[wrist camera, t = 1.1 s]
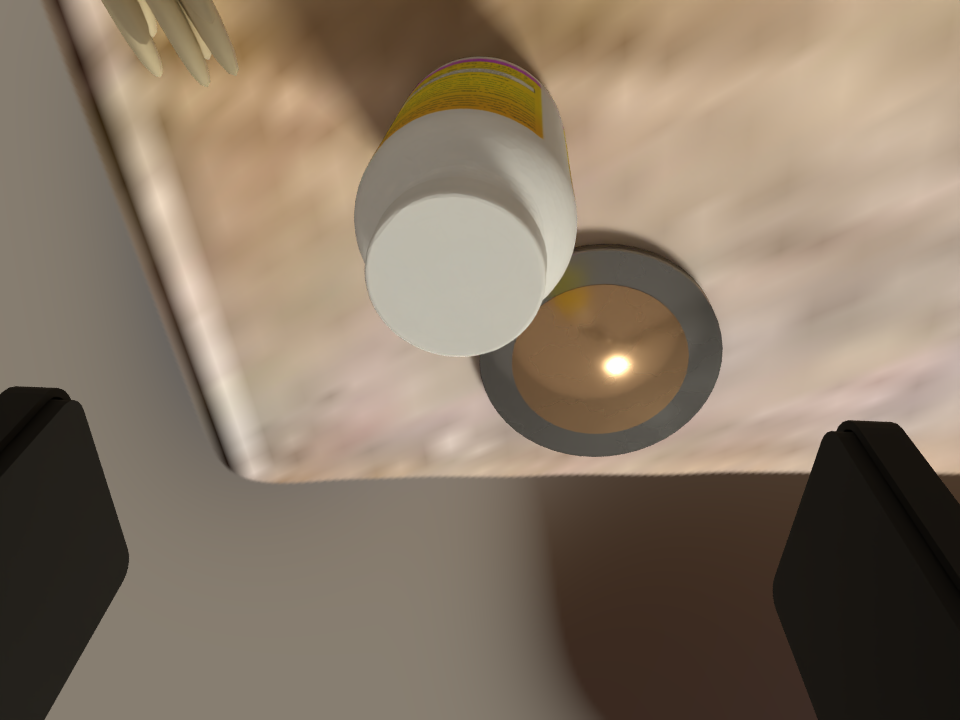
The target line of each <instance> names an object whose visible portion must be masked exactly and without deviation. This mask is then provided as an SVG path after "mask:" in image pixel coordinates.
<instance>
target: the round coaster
mask: <svg viewBox="0 0 960 720" xmlns="http://www.w3.org/2000/svg"><path fill="white" fill-rule="evenodd" d="M721 362H722V337H721V331H720V328H719V324H718V320H717V318H716V316H715V313H714V311H713V309H712V307H711V304H710V302H709V300H708V298H707V297H706V295H705V294H704V292H703V291H702V289H701V288H700V286H699V285H698V284H697V283H696V282H695V281H694V280H693V278H692V277H691V276H690V275H688V274H687V273H686V272H685V271H684V270H682V269H681V268H680V267H679V266H677V265H675V264H674V263H672V262H671V261H669V260H667V259H666V258H663V257H661V256H659V255H657V254H655V253H652V252H649V251H646V250H643V249H639V248H636V247H630V246H624V245H613V244H598V245H586V246H581V247H576V248H574V250H573V253H572V256H571V259H570V262H569V264H568V266H567V268H566V270H565V272H564V274H563V276H562V278H561V279H560V281H559V282H558V284H557V285H556V286H555V287H554V289H553V290H552V291H551V292H550V293H549V295H548V296H547V297H546V298H544V299H543V300H542V303H541V305H540V308H539V310H538V312H537V314H536V316H535V317H534V319H533V320H532V322H531V323H530V325H529V326H528V327H527V328H526V329H525V330H524V331H523V332H522V333H521V334H520V335H519V336H518V337H516V338H515V339H514V340H513V341H511V342H509V343H508V344H506V345H505V346H503V347H501V348H499V349H497V350H494V351H491V352H488V353H484V354H480V371H481V377H482V381H483V384H484V388H485V391H486V393H487V395H488V397H489V399H490V401H491V403H492V404H493V406H494V408H495V409H496V411H497V412H498V413H499V414H500V416H501V417H502V418H503V419H504V420H505V421H506V423H508V424H509V425H510V426H511V427H512V428H513V429H514V430H515V431H517V432H518V433H520V434H521V435H523V436H524V437H525V438H527V439H529V440H531V441H533V442H534V443H536V444H538V445H540V446H543V447H546V448H548V449H551V450H554V451H557V452H561V453H565V454H570V455H577V456H589V457H601V456H613V455H620V454H625V453H629V452H633V451H637V450H640V449H643V448H645V447H648V446H651V445H653V444H655V443H657V442H659V441H661V440H663V439H665V438H667V437H668V436H670V435H671V434H673V433H675V432H676V431H678V430H679V429H680V428H681V427H683V426H684V425H685V424H686V423H687V422H689V421H690V420H691V419H692V417H693V416H694V415H695V414H696V413H697V412H698V411H699V410H700V409H701V407H702V406H703V405H704V403H705V402H706V401H707V399H708V397H709V395H710V394H711V392H712V390H713V388H714V386H715V383H716V380H717V378H718V375H719V371H720V367H721Z"/></svg>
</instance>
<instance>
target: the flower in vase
mask: <svg viewBox="0 0 960 720" xmlns="http://www.w3.org/2000/svg"><path fill="white" fill-rule="evenodd" d="M101 1H102V2H103V4H104V6H105V7H106V9H107V11H108V12H109V14H110V16H111V17H112V19H113V21H114V22H115V24H116V25H117V27H118V29H119V30H120V32H121V34H122V35H123V37H124V38H125V40H126V42H127V43H128V45H129V46H130V47H131V49H132V50H133V52H134V53H135V54H136V56H137V57H138V59H139V60H140V61H141V63H142V64H143V65H144V66H145V67H146V68H147V69H148V70H149V71H150V72H151V73H152V74H153V75H154V76H157V77H161V75H162V73H163V69H162V62H161V58H160V56H159V53H158V51H157V48H156V45H155V43H154V41H153V39H152V37H154V36H155V34H156V33H157V23H156V19H157V21H158V23H159V24H160V26H161V28H162V29H163V31H164V33H165V34H166V36H167V38H168V39H169V41H170V43H171V44H172V46H173V48H174V49H175V51H176V52H177V54H178V56H179V57H180V59H181V60H182V62H183V63H184V65H185V66H186V68H187V69H188V71H189V72H190V74H191V75H192V76H193V77H194V78H195V79H196V80H197V81H198V83H199V84H200V85H202V86H206V87H208V85H209V83H210V76H209V70H208V66H207V64H206V61H205V59H208V60H209V59H210V56H211V53H212V54H213V56H214V57H215V59H216V60H217V62H218V63H219V64H220V65H221V66H222V67H223V68H224V69H225V70H226V71H227V72H228V73H229V74H232V75H235V76H236V75H237V72H238V69H239V68H238V63H237V59H236V55H235V51H234V48H233V45H232V43H231V41H230V38H229V36H228V34H227V31H226V29H225V26H224V24H223V22H222V19H221V17H220V15H219V13H218V11H217V9H216V7H215V5H214V3H213V1H212V0H101Z"/></svg>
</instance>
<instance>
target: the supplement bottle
mask: <svg viewBox="0 0 960 720" xmlns="http://www.w3.org/2000/svg"><path fill="white" fill-rule="evenodd" d="M354 223H355V233H356V238H357V243H358V247H359V250H360V253H361V255H362V258H363V260H364V263H365V282H366V286H367V290H368V294H369V297H370V300H371V302H372V304H373V306H374V308H375V310H376V312H377V313H378V315H379V316H380V318H381V319H382V320H383V321H384V323H385V324H386V325H387V326H388V327H389V328H390V329H391V330H392V331H393V332H394V333H395V334H396V335H398V336H399V337H400V338H402V339H403V340H405V341H406V342H408V343H410V344H411V345H413V346H415V347H417V348H420V349H422V350H424V351H427V352H430V353H433V354H437V355H443V356H451V357H468V356H476V355H480V354H484V353H488V352H491V351H494V350H497V349H499V348H501V347H503V346H505V345H506V344H508V343H509V342H511V341H513V340H514V339H515V338H516V337H518V336H519V335H520V334H521V333H522V332H523V331H524V330H525V329H526V328H527V327H528V326H529V325H530V323H531V322H532V320H533V319H534V317H535V316H536V314H537V312H538V310H539V308H540V305H541V303H542V300H543V299H544V298H546V297H547V296H548V295H549V293H550V292H551V291H552V290H553V289H554V287H555V286H556V285H557V284H558V282H559V281H560V279H561V278H562V276H563V274H564V272H565V270H566V268H567V266H568V264H569V262H570V259H571V256H572V253H573V250H574V246H575V241H576V234H577V210H576V202H575V196H574V190H573V184H572V179H571V172H570V166H569V158H568V152H567V145H566V139H565V132H564V127H563V124H562V120H561V117H560V114H559V111H558V108H557V106H556V104H555V102H554V100H553V98H552V97H551V95H550V94H549V92H548V91H547V89H546V88H545V87H544V86H543V85H542V84H541V83H540V82H539V81H538V80H537V79H536V78H535V77H534V76H533V75H531V74H530V73H529V72H528V71H526V70H525V69H523V68H521V67H519V66H518V65H515V64H513V63H511V62H508V61H505V60H502V59H498V58H493V57H468V58H462V59H458V60H455V61H452V62H449V63H447V64H445V65H443V66H441V67H439V68H437V69H436V70H434V71H433V72H431V73H430V74H428V75H427V76H426V77H425V78H424V79H423V80H422V81H421V82H420V83H419V84H418V85H417V86H416V87H415V89H414V90H413V91H412V93H411V94H410V96H409V97H408V99H407V100H406V102H405V103H404V105H403V107H402V108H401V110H400V112H399V114H398V115H397V117H396V119H395V121H394V122H393V124H392V126H391V127H390V129H389V131H388V132H387V134H386V136H385V137H384V139H383V141H382V142H381V144H380V146H379V147H378V149H377V150H376V152H375V154H374V155H373V157H372V159H371V160H370V162H369V164H368V166H367V168H366V170H365V172H364V174H363V176H362V179H361V181H360V184H359V187H358V191H357V195H356V201H355V211H354Z"/></svg>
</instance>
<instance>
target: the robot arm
mask: <svg viewBox="0 0 960 720" xmlns="http://www.w3.org/2000/svg"><path fill="white" fill-rule="evenodd" d="M128 563H129V553H128V549H127V545H126V542H125V539H124V536H123V533H122V529H121V526H120V523H119V520H118V517H117V514H116V510H115V507H114V504H113V501H112V498H111V495H110V491H109V488H108V485H107V482H106V479H105V476H104V472H103V469H102V466H101V463H100V460H99V457H98V453H97V451H96V447H95V444H94V441H93V438H92V435H91V431H90V428H89V425H88V422H87V419H86V416H85V413H84V410H83V408H82V405H81V404H80V403H79V402H78V401H75V400H71V399H70V397H69V395H68V394H67V393H66V392H65V391H64V390H62V389H59V388H43V387H18V386H15V387H10V388H8V389H7V390H5V391H4V392H2V393H1V394H0V720H44V719H45V718H46V716H47V714H48V712H49V711H50V709H51V707H52V705H53V704H54V702H55V700H56V698H57V696H58V695H59V693H60V691H61V689H62V688H63V686H64V684H65V682H66V681H67V679H68V677H69V675H70V674H71V672H72V670H73V668H74V666H75V665H76V663H77V661H78V660H79V658H80V656H81V654H82V653H83V651H84V649H85V647H86V645H87V644H88V642H89V640H90V638H91V637H92V635H93V633H94V631H95V630H96V628H97V626H98V624H99V623H100V621H101V619H102V617H103V616H104V614H105V612H106V610H107V609H108V607H109V605H110V603H111V601H112V600H113V598H114V596H115V594H116V593H117V591H118V589H119V587H120V586H121V584H122V582H123V580H124V578H125V576H126V573H127V569H128ZM773 599H774V604H775V607H776V611H777V613H778V616H779V619H780V621H781V624H782V626H783V629H784V632H785V634H786V637H787V640H788V642H789V645H790V647H791V650H792V653H793V655H794V658H795V661H796V663H797V666H798V668H799V671H800V674H801V676H802V678H803V681H804V684H805V687H806V689H807V692H808V694H809V697H810V700H811V702H812V705H813V707H814V710H815V713H816V715H817V718H818V720H960V504H959V503H958V502H957V500H956V499H955V498H954V496H953V495H952V494H951V492H950V491H949V490H948V488H947V487H946V486H945V484H944V483H943V482H942V481H941V479H940V478H939V477H938V475H937V474H936V473H935V471H934V470H933V469H932V467H931V466H930V465H929V463H928V462H927V461H926V459H925V458H924V457H923V455H922V454H921V453H920V451H919V450H918V449H917V447H916V446H915V445H914V443H913V442H912V441H911V439H910V438H909V437H908V435H907V434H906V433H905V431H904V430H903V429H902V428H901V427H900V426H899V425H898V424H896V423H893V422H877V421H853V420H848V421H844V422H842V423H841V425H840V426H839V427H838V429H837V431H830V432H827V433H826V434H825V435H824V437H823V439H822V441H821V444H820V447H819V450H818V453H817V456H816V459H815V462H814V464H813V467H812V470H811V473H810V476H809V479H808V482H807V485H806V488H805V491H804V494H803V496H802V499H801V503H800V505H799V508H798V511H797V514H796V517H795V520H794V522H793V525H792V528H791V531H790V534H789V537H788V540H787V543H786V546H785V549H784V552H783V554H782V557H781V560H780V563H779V566H778V569H777V572H776V575H775V578H774V582H773Z"/></svg>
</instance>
